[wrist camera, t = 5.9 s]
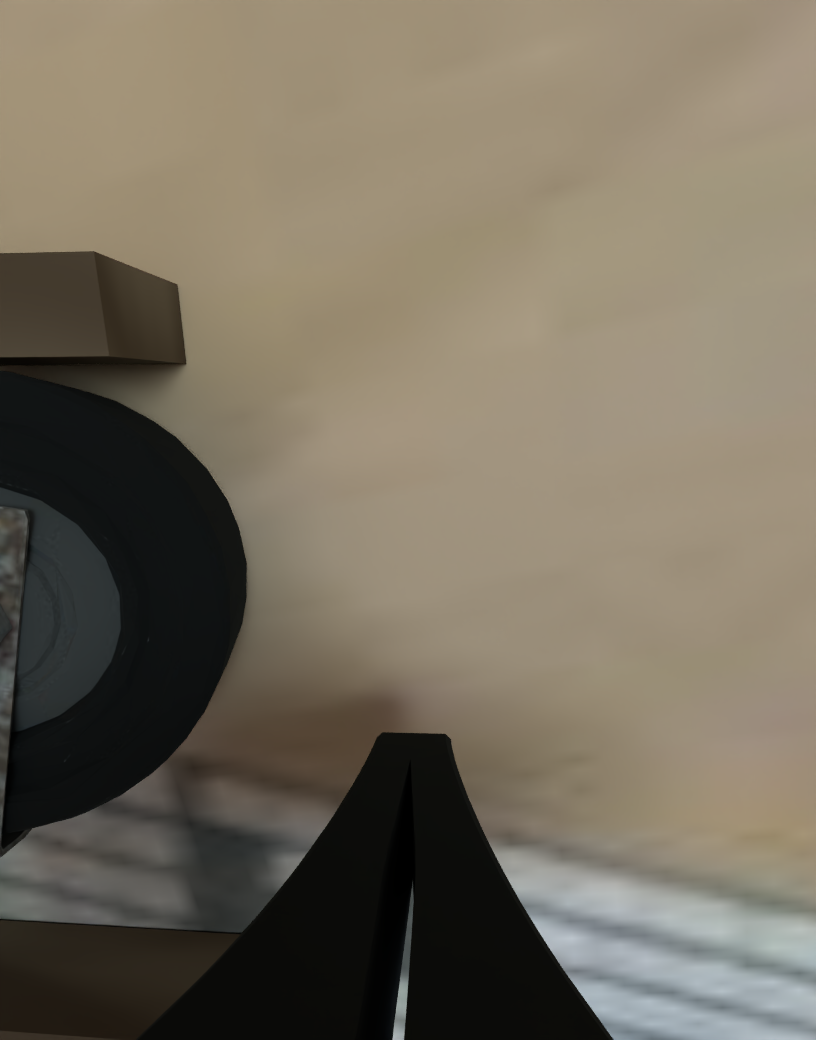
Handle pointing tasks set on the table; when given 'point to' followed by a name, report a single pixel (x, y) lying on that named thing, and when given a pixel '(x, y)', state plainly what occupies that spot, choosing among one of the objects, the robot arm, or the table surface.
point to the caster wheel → (103, 599)
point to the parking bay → (67, 947)
